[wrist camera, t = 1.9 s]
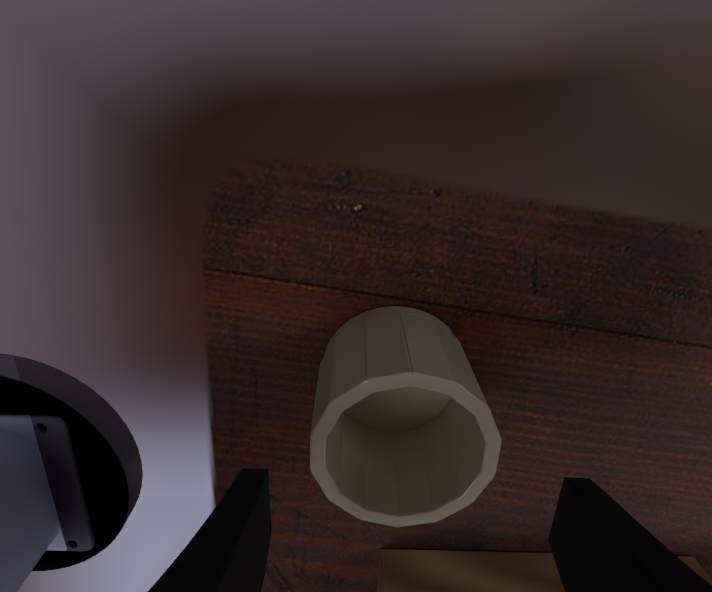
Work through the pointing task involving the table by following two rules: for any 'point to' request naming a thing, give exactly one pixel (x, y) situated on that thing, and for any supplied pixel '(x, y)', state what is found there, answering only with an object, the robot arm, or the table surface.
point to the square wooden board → (475, 571)
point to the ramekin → (400, 420)
